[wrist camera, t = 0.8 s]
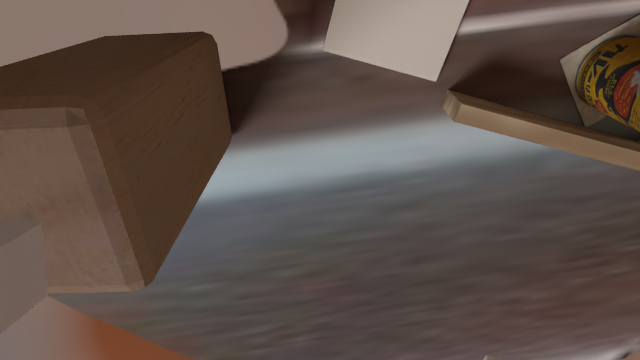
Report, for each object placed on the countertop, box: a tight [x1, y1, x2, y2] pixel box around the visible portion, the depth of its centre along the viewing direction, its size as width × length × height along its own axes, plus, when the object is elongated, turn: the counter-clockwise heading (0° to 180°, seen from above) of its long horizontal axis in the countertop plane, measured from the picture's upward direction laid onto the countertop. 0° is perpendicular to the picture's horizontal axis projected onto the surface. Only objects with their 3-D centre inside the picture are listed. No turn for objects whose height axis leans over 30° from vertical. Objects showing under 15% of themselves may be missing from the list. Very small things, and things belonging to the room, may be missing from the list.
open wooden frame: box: [441, 90, 640, 171], centre depth 31 cm, size 14×20×4 cm
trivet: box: [323, 0, 469, 82], centre depth 30 cm, size 10×10×1 cm
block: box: [0, 32, 232, 293], centre depth 26 cm, size 10×10×20 cm
